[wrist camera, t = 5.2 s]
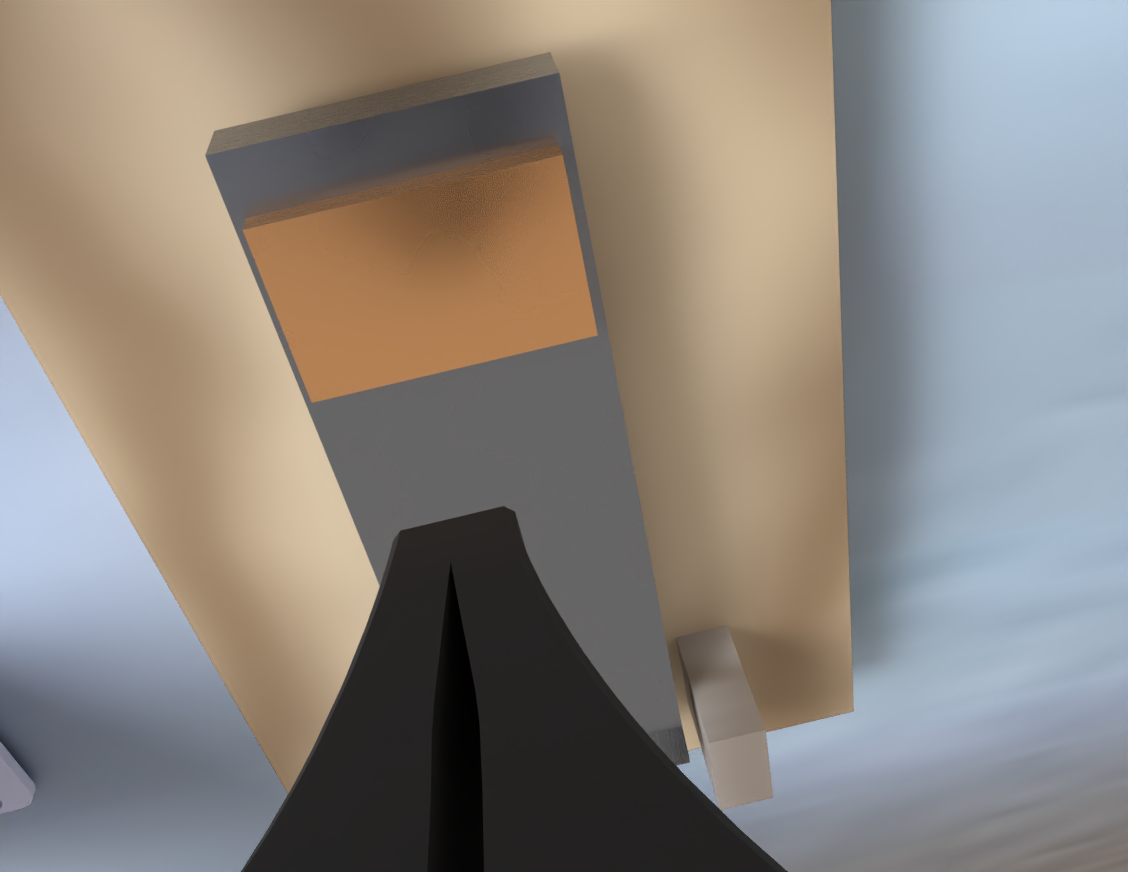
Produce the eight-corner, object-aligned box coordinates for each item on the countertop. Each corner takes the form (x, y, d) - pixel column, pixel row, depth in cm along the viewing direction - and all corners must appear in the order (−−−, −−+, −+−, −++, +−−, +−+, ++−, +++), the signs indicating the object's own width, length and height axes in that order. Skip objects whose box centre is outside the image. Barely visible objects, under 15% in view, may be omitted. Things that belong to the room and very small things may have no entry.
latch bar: (469, 769, 25) (474, 832, 24) (216, 124, 16) (201, 166, 14) (676, 720, 25) (693, 780, 24) (547, 45, 16) (563, 81, 14)
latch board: (317, 773, 28) (308, 955, 24) (-170, -133, 15) (-364, -64, 11) (826, 652, 28) (900, 813, 24) (772, -352, 15) (912, -362, 11)
